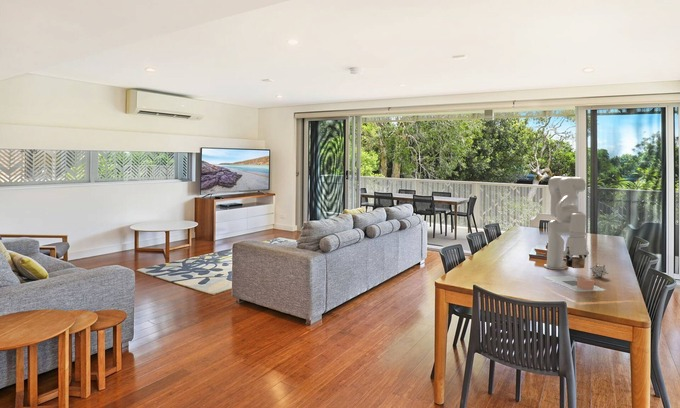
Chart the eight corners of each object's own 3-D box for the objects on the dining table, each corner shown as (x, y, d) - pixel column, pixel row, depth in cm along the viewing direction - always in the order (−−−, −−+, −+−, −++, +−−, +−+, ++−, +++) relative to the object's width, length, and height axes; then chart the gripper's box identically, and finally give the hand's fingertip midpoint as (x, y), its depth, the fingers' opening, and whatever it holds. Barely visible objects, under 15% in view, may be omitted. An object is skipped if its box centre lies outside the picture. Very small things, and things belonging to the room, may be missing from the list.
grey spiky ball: (595, 282, 257) (590, 267, 262) (610, 279, 252) (606, 264, 257) (591, 277, 251) (587, 262, 256) (607, 274, 246) (602, 259, 251)
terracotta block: (585, 286, 232) (586, 277, 231) (593, 289, 226) (594, 280, 226) (577, 286, 231) (577, 277, 230) (584, 289, 225) (584, 280, 225)
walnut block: (575, 265, 240) (576, 256, 239) (584, 268, 233) (584, 259, 233) (565, 265, 239) (566, 256, 238) (573, 268, 232) (574, 259, 232)
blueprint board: (570, 277, 253) (570, 275, 253) (606, 292, 225) (606, 289, 225) (543, 278, 250) (543, 276, 250) (576, 293, 222) (576, 291, 222)
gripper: (585, 233, 240) (583, 264, 241) (558, 234, 237) (556, 265, 239) (595, 236, 232) (593, 267, 234) (567, 236, 229) (565, 268, 231)
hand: (574, 266), depth 236 cm, fingers closed on walnut block, 6 cm apart
